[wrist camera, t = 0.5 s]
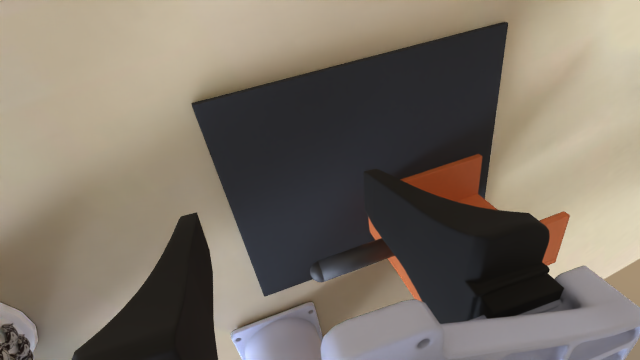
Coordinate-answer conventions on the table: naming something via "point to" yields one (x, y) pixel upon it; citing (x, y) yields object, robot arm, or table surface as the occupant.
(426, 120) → the mat
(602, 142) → the table surface
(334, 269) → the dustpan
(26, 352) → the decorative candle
